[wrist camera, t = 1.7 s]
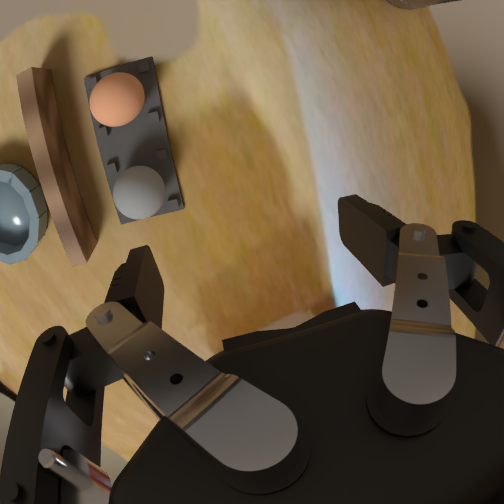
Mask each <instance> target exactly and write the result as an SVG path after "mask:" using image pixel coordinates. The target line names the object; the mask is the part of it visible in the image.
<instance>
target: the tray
mask: <svg viewBox="0 0 504 504" xmlns="http://www.w3.org/2000/svg"><path fill="white" fill-rule="evenodd" d="M117 72H123V73H128V74H131V75H133V76H134V77H136V78H137V79H138V80H139V81H140V83H141V84H142V86H143V89H144V94H145V99H144V104H143V107H142V109H141V111H140V113H139V114H138V115H137V116H136V117H135V118H134V119H133V120H132V121H130V122H129V123H127V124H125V125H122V126H116V127H111V126H106V125H104V124H101V123H100V122H98V121H97V120H96V119H95V118H94V116H93V115H92V112H91V110H90V112H91V116H92V121H93V126H94V130H95V134H96V138H97V143H98V147H99V151H100V154H101V158H102V162H103V166H104V169H105V173H106V177H107V180H108V184H109V187H110V190H111V194H112V197H113V188H114V184H115V182H116V180H117V178H118V177H119V175H120V174H121V173H122V172H124V171H125V170H126V169H128V168H130V167H133V166H147V167H150V168H152V169H154V170H155V171H156V172H157V173H158V174H159V175H160V176H161V178H162V179H163V181H164V184H165V199H164V202H163V204H162V206H161V207H160V209H159V210H158V211H157V212H156V213H155V214H154V215H152V216H156V215H161V214H165V213H169V212H173V211H177V210H182V209H184V205H183V201H182V197H181V193H180V189H179V185H178V180H177V176H176V172H175V167H174V163H173V158H172V154H171V149H170V145H169V140H168V135H167V130H166V126H165V121H164V116H163V111H162V106H161V100H160V95H159V90H158V84H157V79H156V73H155V67H154V62H153V57H148V58H144V59H141V60H137V61H134V62H130V63H127V64H124V65H120V66H117V67H114V68H111V69H108V70H105V71H102V72H99V73H97V74H94V75H91V76H89V77H86V78H84V80H85V86H86V92H87V97H88V102H89V107H90V95H91V92H92V90H93V88H94V87H95V85H96V84H97V83H98V82H99V81H100V80H101V79H102V78H103V77H105V76H107V75H109V74H112V73H117ZM113 200H114V199H113ZM114 204H115V202H114ZM115 207H116V205H115ZM116 210H117V213H118V216H119V219H120V222H121V224H125V223H129V222H132V221H136V220H140V219H131V218H129V217H126V216H125V215H123V214H122V213H121V212H120V211H119V210H118V208H117V207H116ZM152 216H150V217H152Z"/></svg>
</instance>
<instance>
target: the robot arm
mask: <svg viewBox="0 0 504 504" xmlns="http://www.w3.org/2000/svg"><path fill="white" fill-rule="evenodd" d="M387 1H388V2H389V3H391V4H393V5H395V6H397V7H399V8H402V9H409V10H410V9H416V8H422V7H426V6H430V5H435V4H441V3H447V2H453V1H460V0H387ZM338 214H339V232H340V237H341V240H342V242H343V244H344V246H345V247H346V248H347V249H348V250H349V251H350V252H351V253H352V254H353V255H354V256H355V257H356V258H357V259H358V260H359V261H360V262H361V263H362V265H363V266H364V267H365V268H366V269H367V270H368V271H369V272H370V273H371V274H372V275H373V276H374V278H375V279H376V280H377V281H378V282H379V283H380V284H381V285H382V286H383V287H384V286H387V285H390V284H392V283H395V292H394V300H393V307H392V312H390V311H386V310H376V309H368V310H361V309H360V308H359V307H358V305H357V304H356V303H355V302H352V303H349V304H346V305H343V306H340V307H337V308H334V309H331V310H328V311H325V312H323V313H321V314H319V315H317V316H315V317H314V318H312V319H310V320H308V321H306V322H304V323H302V324H301V325H299V326H296V327H294V328H289V329H278V330H266V331H256V332H252V333H248V334H244V335H240V336H236V337H232V338H228V339H224V340H222V342H223V348H224V350H223V351H221V352H219V353H217V354H215V355H214V356H212V357H211V358H209V359H208V360H206V361H204V360H203V359H201V358H200V357H199V356H197V355H196V354H194V353H193V352H192V351H190V350H189V349H187V348H186V347H185V346H183V345H182V344H181V343H179V342H178V341H177V340H175V339H174V338H173V337H171V336H170V335H169V334H167V333H166V332H165V331H163V330H162V315H163V301H164V285H163V281H162V278H161V275H160V272H159V270H158V267H157V265H156V262H155V260H154V257H153V254H152V252H151V249H150V247H149V246H148V245H145V246H142V247H138V248H134V249H131V250H130V252H129V255H128V258H127V261H126V263H124V264H121V265H120V267H119V268H118V269H117V270H116V271H115V273H114V276H113V279H112V281H111V284H110V287H109V290H108V293H107V296H106V299H105V302H104V304H101V305H99V306H98V307H96V308H95V309H93V310H92V311H91V312H90V314H89V315H88V316H87V319H86V326H87V327H85V328H83V329H81V330H79V331H77V332H75V333H73V334H71V335H69V334H68V333H67V331H66V330H65V328H64V327H62V326H54V327H51V328H49V329H47V330H46V331H44V332H43V333H42V334H41V335H40V336H39V337H38V339H37V340H36V342H35V345H34V347H33V350H32V353H31V356H30V358H29V361H28V364H27V367H26V370H25V373H24V376H23V379H22V382H21V385H20V389H19V392H18V395H17V399H16V402H15V406H14V410H13V414H12V418H11V422H10V426H9V430H8V435H7V439H6V444H5V449H4V455H3V461H2V467H1V475H0V504H504V242H502V241H501V240H500V239H498V238H497V237H496V236H494V235H493V234H491V233H490V232H489V231H487V230H485V229H484V228H483V227H481V226H480V225H478V224H476V223H474V222H471V221H465V220H461V221H456V222H454V223H453V225H452V232H451V234H446V235H437V234H436V232H435V230H434V229H433V228H431V227H429V226H427V225H424V224H418V223H412V224H405V223H404V222H402V221H401V220H399V219H398V218H397V217H395V216H394V215H393V216H392V214H391V213H389V212H388V211H387V212H386V210H385V209H383V208H382V207H380V206H378V205H375V204H372V203H369V202H367V201H366V200H364V199H363V198H361V197H359V196H358V195H356V194H355V195H350V196H345V197H341V198H339V200H338ZM478 265H480V266H481V267H482V268H483V269H484V270H485V271H486V272H487V273H488V275H489V278H490V285H489V288H488V290H487V289H486V288H485V287H484V286H482V285H481V284H480V283H479V282H478V281H477V280H476V279H475V274H476V270H477V266H478ZM449 298H450V299H451V300H452V301H453V302H454V303H455V304H456V305H457V306H458V308H459V309H460V310H461V311H462V312H463V313H464V314H465V315H466V316H467V318H468V319H469V320H470V321H471V322H472V323H473V324H474V326H475V327H476V328H477V329H478V330H479V331H480V333H481V334H482V335H483V336H484V337H485V338H486V340H487V341H488V342H489V343H490V344H488V343H485V342H481V341H478V340H476V339H473V338H470V337H467V336H464V335H460V334H457V333H455V331H454V330H453V329H452V327H451V312H450V299H449ZM120 379H123V380H124V381H125V383H126V384H127V385H128V386H129V387H130V388H131V390H132V391H133V392H134V393H135V394H136V395H137V396H138V397H139V399H140V400H141V401H142V402H143V403H144V404H145V405H146V406H147V407H148V408H149V409H150V411H151V412H152V413H153V414H154V415H155V416H156V417H157V418H158V419H159V421H158V423H157V424H156V426H155V427H154V428H153V430H152V431H151V432H150V434H149V435H148V436H147V438H146V439H145V441H144V442H143V443H142V445H141V446H140V447H139V449H138V450H137V451H136V453H135V454H134V455H133V457H132V458H131V459H130V461H129V462H128V463H127V465H126V466H125V467H124V469H123V470H122V471H121V473H120V474H119V476H118V477H117V478H116V480H115V482H114V484H113V486H111V481H110V478H109V476H108V474H107V473H106V472H105V471H104V470H103V469H102V468H100V459H101V458H100V457H101V429H102V413H103V400H104V389H105V386H107V385H109V384H111V383H114V382H116V381H118V380H120ZM64 386H65V387H66V388H67V389H68V390H67V395H66V401H64V398H63V388H64Z"/></svg>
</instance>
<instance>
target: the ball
mask: <svg viewBox="0 0 504 504" xmlns="http://www.w3.org/2000/svg"><path fill="white" fill-rule="evenodd" d="M144 99H145V94H144V89H143V86H142V84H141V83H140V81H139V80H138V79H137V78H136V77H134V76H133V75H131V74H128V73H123V72H117V73H112V74H109V75H107V76H105V77H103V78H102V79H101V80H100V81H99V82H98V83H97V84H96V85H95V87H94V88H93V90H92V92H91V95H90V110H91V112H92V115H93V116H94V118H95V119H96V120H97V121H98V122H100V123H101V124H104V125H106V126H111V127H116V126H122V125H125V124H127V123H129V122H130V121H132V120H133V119H134V118H135V117H136V116H137V115H138V114H139V113H140V111H141V109H142V107H143V104H144Z"/></svg>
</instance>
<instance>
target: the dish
mask: <svg viewBox="0 0 504 504" xmlns="http://www.w3.org/2000/svg"><path fill="white" fill-rule="evenodd" d="M47 223H48V208H47V202H46V199H45V196H44V193H43V190H42V188H41V186H40V184H39V183H38V181H37V180H36V179H35V177H34V176H33V175H32V174H31V173H30V172H29V171H27V170H26V169H25V168H23V167H21V166H19V165H16V164H5V163H2V164H0V261H1V262H4V263H7V264H14V263H17V262H20V261H23V260H26V259H27V258H28V257H29V256H30V255H31V253H32V252H33V251H34V250H35V248H36V247H37V245H38V244H39V242H40V241H41V240H42V238H43V236H44V235H45V232H46V228H47Z"/></svg>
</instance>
